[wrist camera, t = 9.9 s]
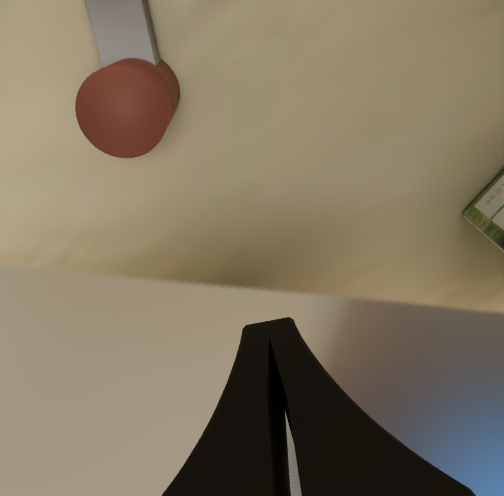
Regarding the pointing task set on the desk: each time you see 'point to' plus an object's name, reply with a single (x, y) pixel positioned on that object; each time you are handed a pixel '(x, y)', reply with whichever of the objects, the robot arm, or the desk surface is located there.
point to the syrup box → (489, 212)
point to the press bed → (126, 82)
